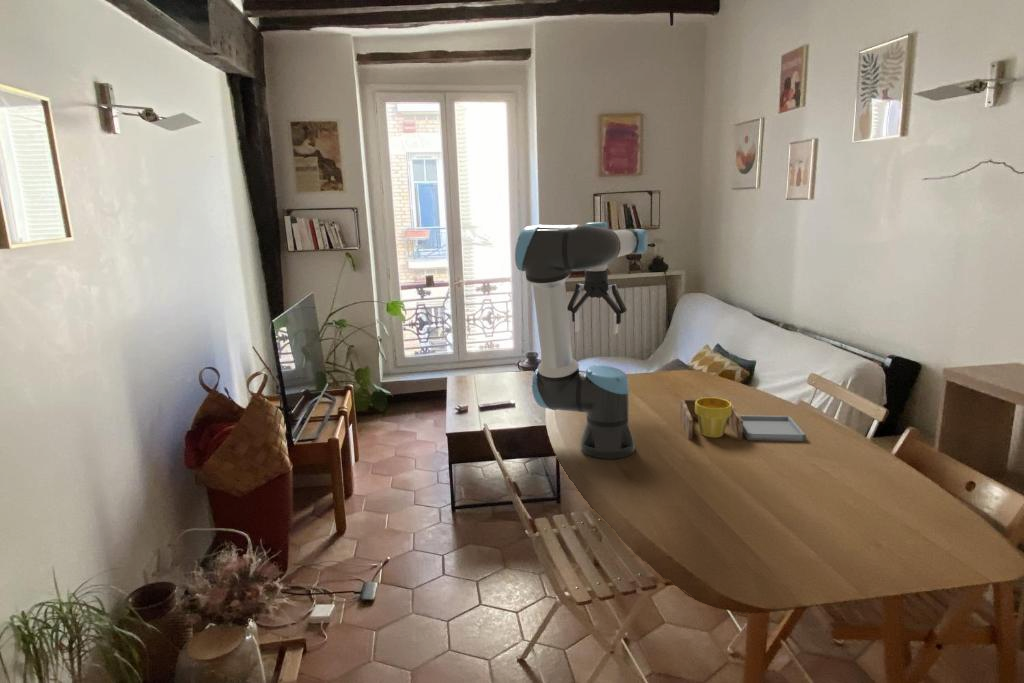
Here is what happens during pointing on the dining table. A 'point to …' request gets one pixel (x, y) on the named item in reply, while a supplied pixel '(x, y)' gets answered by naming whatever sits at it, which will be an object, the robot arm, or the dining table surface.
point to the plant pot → (712, 415)
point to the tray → (771, 428)
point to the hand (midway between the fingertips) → (596, 332)
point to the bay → (689, 413)
